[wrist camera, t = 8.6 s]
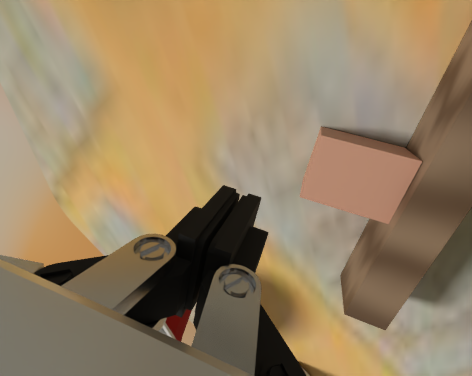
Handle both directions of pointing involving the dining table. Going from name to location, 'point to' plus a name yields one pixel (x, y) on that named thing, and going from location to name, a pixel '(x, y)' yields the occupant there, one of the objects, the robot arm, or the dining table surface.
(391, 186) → the terracotta block
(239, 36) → the dining table surface
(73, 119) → the dining table surface
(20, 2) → the dining table surface
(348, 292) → the brown blocky bar
